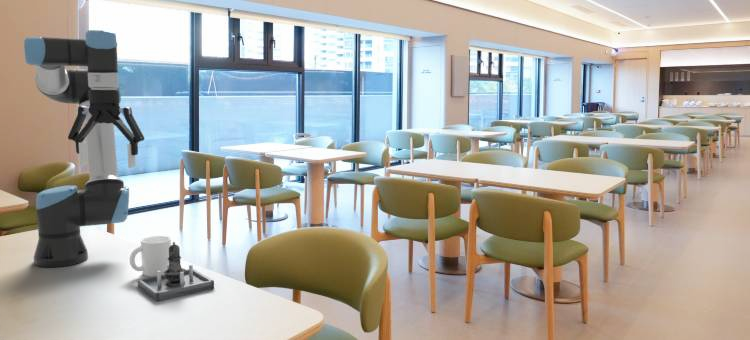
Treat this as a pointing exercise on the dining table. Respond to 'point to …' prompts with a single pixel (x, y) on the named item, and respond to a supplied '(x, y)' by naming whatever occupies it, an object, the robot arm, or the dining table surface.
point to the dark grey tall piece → (174, 267)
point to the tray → (162, 292)
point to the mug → (152, 255)
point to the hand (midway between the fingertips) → (107, 166)
